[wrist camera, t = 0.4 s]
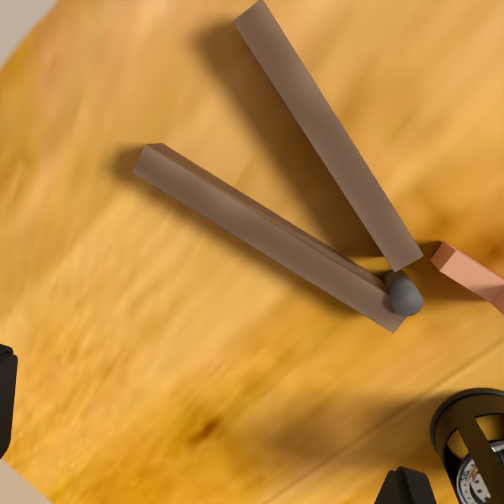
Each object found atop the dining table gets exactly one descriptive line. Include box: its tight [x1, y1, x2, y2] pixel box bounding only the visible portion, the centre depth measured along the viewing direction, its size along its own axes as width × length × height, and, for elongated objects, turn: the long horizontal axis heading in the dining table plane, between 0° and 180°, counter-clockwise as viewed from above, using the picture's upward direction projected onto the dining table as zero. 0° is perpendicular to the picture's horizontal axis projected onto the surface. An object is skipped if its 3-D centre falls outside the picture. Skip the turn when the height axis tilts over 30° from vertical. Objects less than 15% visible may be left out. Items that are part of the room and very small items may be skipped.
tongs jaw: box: [233, 0, 424, 272], centre depth 33 cm, size 2×22×4 cm, turn 35°
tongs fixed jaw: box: [132, 143, 423, 333], centre depth 35 cm, size 4×25×5 cm, turn 59°
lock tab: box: [430, 241, 504, 315], centre depth 33 cm, size 2×7×6 cm, turn 59°
